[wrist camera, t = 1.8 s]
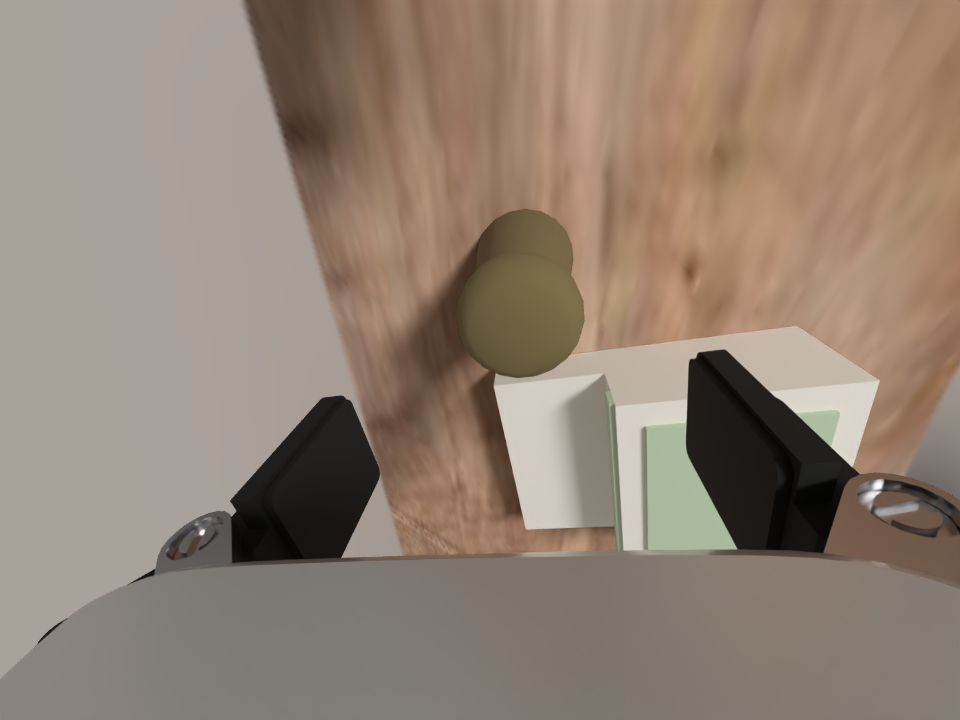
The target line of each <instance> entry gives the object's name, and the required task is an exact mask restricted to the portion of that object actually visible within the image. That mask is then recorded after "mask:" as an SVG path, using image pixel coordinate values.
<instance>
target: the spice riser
mask: <svg viewBox="0 0 960 720" xmlns="http://www.w3.org/2000/svg"><path fill="white" fill-rule="evenodd" d="M722 349H725V350H727V351H728V352H729V353H730V354H731V355H732V356H733V357H734V358H735V359H736V360H737V361H738V362H739V363H740V364H741V365H742V366H743V367H744V368H746V369H747V370H748V371H749V372H750V373H751V374H752V375H753V376H754V377H755V378H756V379H757V380H758V381H759V382H760V383H761V384H762V385H763V386H764V387H765V388H766V389H767V390H768V391H769V392H771V393H772V394H773V395H774V396H775V397H776V398H779V399H780V400H781V401H783V402H784V403H785V404H786V405H787V406H788V407H789V408H790V409H791V410H792V411H794V412H795V413H796V414H797V415H798V416H799V417H800V418H801V419H802V420H803V421H804V422H805V423H806V424H807V425H808V426H809V427H810V428H811V429H812V430H814V431H815V432H816V433H817V434H818V435H819V436H820V437H821V438H822V439H823V440H824V441H825V442H826V443H827V444H828V445H829V446H830V447H831V448H833V449H834V450H835V451H836V452H837V453H838V454H839V455H840V456H841V457H842V458H843V459H844V460H845V461H846V462H847V463H848V464H849V465H850V466H851V467H853V464H854V461H855V458H856V455H857V451H858V448H859V445H860V442H861V439H862V435H863V432H864V429H865V426H866V423H867V420H868V416H869V413H870V410H871V407H872V404H873V400H874V397H875V394H876V391H877V388H878V385H879V380H878V379H876V378H875V377H873V376H872V375H870V374H869V373H867V372H866V371H864V370H863V369H861V368H860V367H858V366H856V365H855V364H853V363H852V362H850V361H849V360H847V359H846V358H844V357H843V356H841V355H840V354H838V353H837V352H835V351H834V350H832V349H831V348H829V347H828V346H826V345H825V344H823V343H822V342H820V341H819V340H817V339H816V338H814V337H813V336H811V335H810V334H808V333H806V332H805V331H803V330H802V329H800V328H799V327H797V326H793V327H785V328H777V329H769V330H761V331H753V332H745V333H737V334H729V335H721V336H713V337H705V338H697V339H689V340H681V341H674V342H666V343H658V344H650V345H642V346H634V347H626V348H618V349H610V350H602V351H594V352H586V353H578V354H570V355H569V357H568V358H567V359H566V360H565V361H563V362H562V363H561V364H559V365H558V366H557V367H556V368H554V369H553V370H551V371H548V372H545V373H543V374H540V375H538V376H534V377H524V378H513V377H508V376H502V375H499V374H497V373H496V374H495V381H494V390H495V394H496V399H497V403H498V408H499V412H500V417H501V421H502V425H503V430H504V434H505V439H506V443H507V448H508V452H509V456H510V461H511V465H512V470H513V474H514V479H515V483H516V487H517V492H518V496H519V501H520V505H521V510H522V514H523V519H524V523H525V527H526V529H552V528H580V527H607V526H614V528H615V542H616V551H623V550H696V549H737V547H736V546H735V544H734V542H733V540H732V538H731V536H730V534H729V532H728V531H727V529H726V527H725V525H724V523H723V521H722V519H721V517H720V516H719V514H718V512H717V510H716V508H715V506H714V504H713V502H712V501H711V499H710V497H709V495H708V493H707V491H706V489H705V487H704V486H703V484H702V482H701V480H700V478H699V476H698V474H697V472H696V471H695V469H694V467H693V465H692V463H691V461H690V459H689V457H688V454H687V450H686V421H687V394H688V366H689V361H690V359H695V358H696V356H697V354H698V353H699V352H705V351H713V350H722Z"/></svg>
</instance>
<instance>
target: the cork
mask: <svg viewBox="0 0 960 720" xmlns="http://www.w3.org/2000/svg"><path fill="white" fill-rule="evenodd" d="M572 264H573V253H572V244H571V242H570V240H569V237H568V235H567V232H566V230H565V229H564V228H563V227H562V226H561V225H560V224H559V223H558V222H557V221H556V219H554V218H552V217H550V216H548V215H547V214H545V213H543V212H541V211H534V210H528V209H522V210H517V211H511V212H508V213H506V214H504V215H503V216H501V217H499V218H497V219H495V220H494V221H493V222H492V223H491V225H490V226H489V227H488V228H487V229H486V230H485V231H484V233H483V235H482V237H481V239H480V241H479V243H478V246H477V254H476V271H475V272H474V273H473V274H472V275H471V276H470V277H469V278H468V280H467V282H466V284H465V286H464V288H463V290H462V292H461V294H460V296H459V299H458V305H457V314H456V320H457V325H458V330H459V334H460V338H461V341H462V343H463V345H464V346H465V348H466V350H467V351H468V353H469V355H470V356H471V357H472V358H474V359H475V360H476V361H477V362H478V363H479V364H480V365H481V366H483V367H484V368H486V369H488V370H490V371H492V372H494V373H497V374H499V375H502V376H508V377H513V378H524V377H534V376H538V375H540V374H543V373H545V372H548V371H551V370H553V369H554V368H556V367H557V366H558V365H559V364H561V363H562V362H563V361H565V360H566V359H567V358H568V357H569V355H570V354H571V352H572V351H573V349H574V348H575V347H576V345H577V344H578V341H579V338H580V334H581V331H582V328H583V324H584V321H585V320H584V304H583V299H582V297H581V294H580V292H579V290H578V288H577V285H576V283H575V281H574V279H573V277H572V276H571V271H572Z"/></svg>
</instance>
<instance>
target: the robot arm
mask: <svg viewBox="0 0 960 720" xmlns="http://www.w3.org/2000/svg"><path fill="white" fill-rule="evenodd" d="M686 450H687V454H688V457H689V459H690V461H691V463H692V465H693V467H694V469H695V471H696V472H697V474H698V476H699V478H700V480H701V482H702V484H703V486H704V487H705V489H706V491H707V493H708V495H709V497H710V499H711V501H712V502H713V504H714V506H715V508H716V510H717V512H718V514H719V516H720V517H721V519H722V521H723V523H724V525H725V527H726V529H727V531H728V532H729V534H730V536H731V538H732V540H733V542H734V544H735V546H736V547H737V549H696V550H623V551H576V552H530V553H491V554H454V555H419V556H385V557H357V558H356V557H355V558H341V557H342V555H343V553H344V551H345V549H346V547H347V544H348V542H349V540H350V538H351V536H352V534H353V532H354V530H355V528H356V526H357V524H358V522H359V520H360V517H361V515H362V513H363V511H364V509H365V507H366V505H367V503H368V501H369V499H370V497H371V495H372V493H373V491H374V489H375V486H376V484H377V482H378V480H379V476H380V471H379V467H378V464H377V462H376V460H375V457H374V455H373V452H372V450H371V448H370V445H369V443H368V440H367V438H366V435H365V433H364V431H363V428H362V426H361V423H360V421H359V419H358V416H357V414H356V411H355V409H354V407H353V404H352V402H351V401H350V400H346V398H345V397H344V396H333V397H325V398H322V399H321V400H320V401H319V402H318V403H317V404H316V405H315V406H314V407H313V408H312V410H311V411H310V412H309V413H308V414H307V415H306V416H305V418H304V419H303V420H302V421H301V422H300V423H299V424H298V425H297V426H296V428H295V429H294V430H293V431H292V432H291V433H290V434H289V435H288V437H287V438H286V439H285V440H284V441H283V442H282V443H281V445H279V447H278V448H277V449H276V450H275V451H274V452H273V453H272V455H271V456H270V457H269V458H268V459H267V460H266V461H265V462H264V463H263V465H262V466H261V467H260V468H259V469H258V470H257V471H256V473H254V475H253V476H252V477H251V478H250V479H249V480H248V481H247V482H246V483H245V485H244V486H243V487H242V488H241V489H240V490H239V491H238V492H237V494H236V495H235V496H234V497H233V498H232V499H231V501H230V502H231V503H232V504H233V506H234V508H235V509H236V513H235V514H234V515H233V516H232V517H231V516H230V514H228V513H227V512H225V511H216V512H212V513H208V514H205V515H203V516H200V517H198V518H196V519H195V520H193V521H191V522H189V523H188V524H186V525H185V526H183V527H182V528H181V529H179V530H178V531H177V532H176V533H175V534H174V535H173V536H172V537H171V538H169V539H168V541H167V542H166V543H165V545H164V546H163V547H162V549H161V551H160V553H159V555H158V559H157V564H156V568H155V569H154V570H152V571H151V572H149V573H147V574H145V575H144V576H142V577H140V578H138V579H136V580H135V581H133V582H131V583H130V584H128V585H126V586H123V587H120V588H118V589H116V590H114V591H112V592H110V593H107V594H105V595H103V596H102V597H100V598H98V599H96V600H94V601H92V602H90V603H88V604H87V605H85V606H84V607H82V608H80V609H79V610H78V611H76V612H75V613H74V614H72V615H71V616H70V617H69V618H67V619H65V620H63V621H62V622H60V623H58V624H57V625H55V626H54V627H53V628H52V629H50V630H49V631H48V632H47V633H46V634H45V635H44V636H43V637H42V638H41V639H40V640H39V642H38V644H37V645H36V646H35V647H34V648H33V649H32V650H31V651H30V652H29V653H28V654H27V655H25V656H24V657H23V658H22V659H21V660H20V661H19V662H18V663H17V664H16V665H15V666H14V667H13V668H12V669H10V670H9V671H8V672H7V673H6V674H5V675H4V676H3V677H2V678H1V679H0V720H960V500H959V499H957V498H956V497H954V496H953V495H951V494H949V493H947V492H945V491H943V490H941V489H939V488H937V487H935V486H933V485H930V484H927V483H925V482H922V481H919V480H916V479H913V478H909V477H904V476H900V475H895V474H886V473H868V474H859V473H858V472H857V471H856V470H855V469H854V468H853V467H851V466H850V465H849V464H848V463H847V462H846V461H845V460H844V459H843V458H842V457H841V456H840V455H839V454H838V453H837V452H836V451H835V450H834V449H833V448H831V447H830V446H829V445H828V444H827V443H826V442H825V441H824V440H823V439H822V438H821V437H820V436H819V435H818V434H817V433H816V432H815V431H814V430H812V429H811V428H810V427H809V426H808V425H807V424H806V423H805V422H804V421H803V420H802V419H801V418H800V417H799V416H798V415H797V414H796V413H795V412H794V411H792V410H791V409H790V408H789V407H788V406H787V405H786V404H785V403H784V402H783V401H781V400H780V399H779V398H776V397H775V396H774V395H773V394H772V393H771V392H769V391H768V390H767V389H766V388H765V387H764V386H763V385H762V384H761V383H760V382H759V381H758V380H757V379H756V378H755V377H754V376H753V375H752V374H751V373H750V372H749V371H748V370H747V369H746V368H744V367H743V366H742V365H741V364H740V363H739V362H738V361H737V360H736V359H735V358H734V357H733V356H732V355H731V354H730V353H729V352H728V351H727V350H725V349H722V350H713V351H705V352H699V353H698V354H697V356H696V358H695V359H690V361H689V366H688V394H687V421H686Z"/></svg>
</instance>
